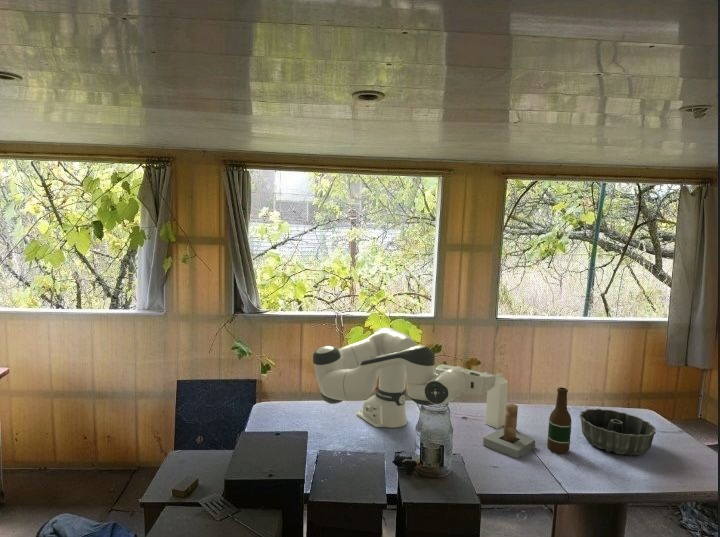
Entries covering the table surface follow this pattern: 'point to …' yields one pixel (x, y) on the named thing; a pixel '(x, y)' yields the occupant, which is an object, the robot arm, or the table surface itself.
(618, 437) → the bundt pan
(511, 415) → the dowel
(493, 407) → the milk
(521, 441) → the socket block
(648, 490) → the table surface
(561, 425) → the beer bottle
